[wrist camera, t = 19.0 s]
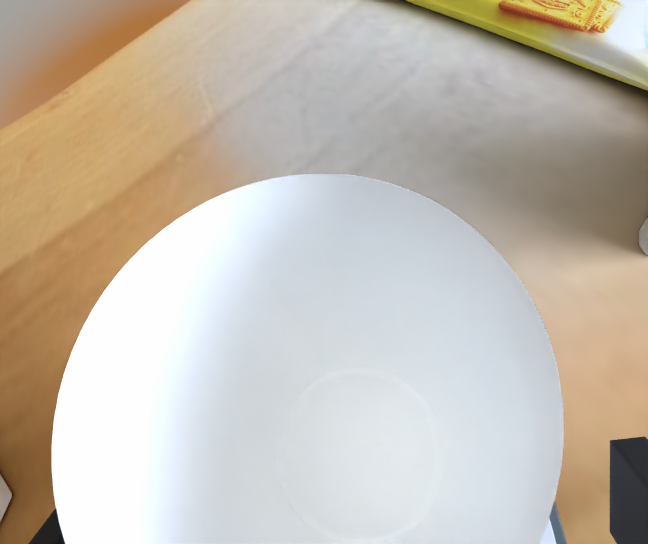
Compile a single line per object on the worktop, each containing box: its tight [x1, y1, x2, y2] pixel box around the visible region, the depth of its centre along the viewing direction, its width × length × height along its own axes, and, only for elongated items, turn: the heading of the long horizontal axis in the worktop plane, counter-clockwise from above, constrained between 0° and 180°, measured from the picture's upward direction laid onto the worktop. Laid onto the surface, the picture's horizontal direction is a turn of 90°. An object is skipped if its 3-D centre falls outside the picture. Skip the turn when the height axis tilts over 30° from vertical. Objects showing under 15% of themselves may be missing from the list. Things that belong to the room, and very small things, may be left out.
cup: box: [52, 173, 564, 544], centre depth 13 cm, size 9×9×12 cm
